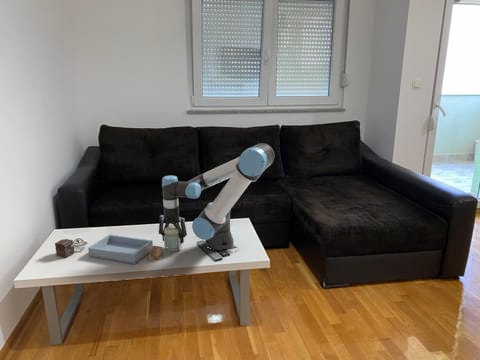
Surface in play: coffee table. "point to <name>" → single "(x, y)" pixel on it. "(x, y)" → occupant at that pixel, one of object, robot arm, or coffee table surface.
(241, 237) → the coffee table surface
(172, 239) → the coffee cup
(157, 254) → the walnut cube
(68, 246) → the box
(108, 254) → the tray
